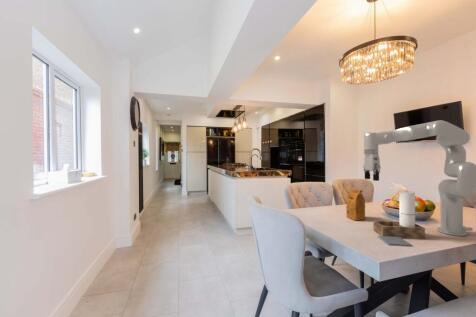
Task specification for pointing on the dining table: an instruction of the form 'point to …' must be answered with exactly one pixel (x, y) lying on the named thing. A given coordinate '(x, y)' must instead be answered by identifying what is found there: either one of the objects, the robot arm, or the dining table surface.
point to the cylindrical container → (407, 208)
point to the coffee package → (355, 205)
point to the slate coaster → (394, 241)
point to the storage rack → (398, 230)
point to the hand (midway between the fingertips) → (371, 179)
